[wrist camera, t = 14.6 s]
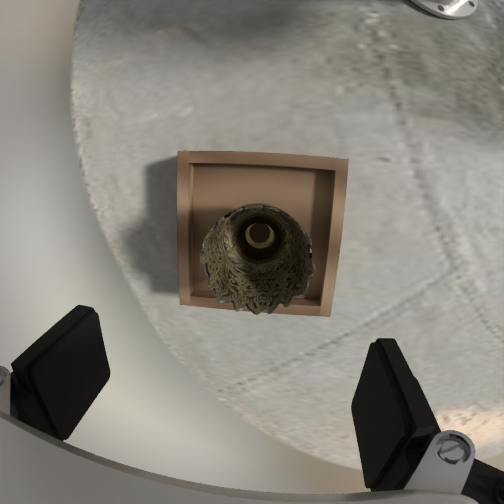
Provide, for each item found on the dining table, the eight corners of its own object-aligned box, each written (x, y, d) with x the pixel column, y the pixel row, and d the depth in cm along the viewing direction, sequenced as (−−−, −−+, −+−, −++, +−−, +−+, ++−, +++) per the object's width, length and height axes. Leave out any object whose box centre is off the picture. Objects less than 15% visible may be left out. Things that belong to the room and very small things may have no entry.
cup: (210, 197, 27) (188, 216, 19) (295, 184, 26) (308, 198, 19) (226, 277, 29) (212, 321, 21) (306, 266, 28) (319, 308, 21)
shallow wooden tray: (195, 151, 30) (177, 151, 25) (337, 158, 29) (348, 159, 24) (194, 282, 34) (179, 304, 29) (323, 292, 33) (329, 316, 28)
